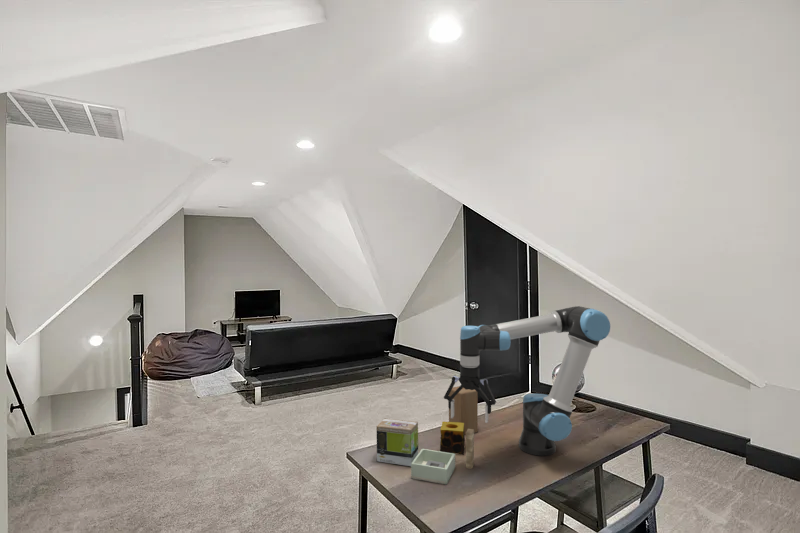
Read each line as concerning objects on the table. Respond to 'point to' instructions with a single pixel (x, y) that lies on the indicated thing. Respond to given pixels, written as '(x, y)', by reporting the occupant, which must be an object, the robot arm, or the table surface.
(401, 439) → the tea box
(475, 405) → the wooden block
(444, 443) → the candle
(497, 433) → the table surface
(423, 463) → the pale green square tray
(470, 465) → the long wooden plank
